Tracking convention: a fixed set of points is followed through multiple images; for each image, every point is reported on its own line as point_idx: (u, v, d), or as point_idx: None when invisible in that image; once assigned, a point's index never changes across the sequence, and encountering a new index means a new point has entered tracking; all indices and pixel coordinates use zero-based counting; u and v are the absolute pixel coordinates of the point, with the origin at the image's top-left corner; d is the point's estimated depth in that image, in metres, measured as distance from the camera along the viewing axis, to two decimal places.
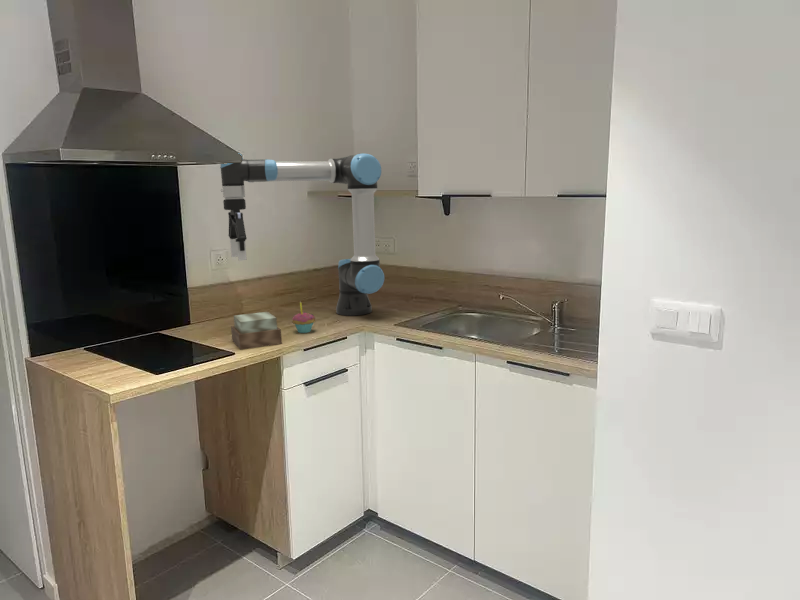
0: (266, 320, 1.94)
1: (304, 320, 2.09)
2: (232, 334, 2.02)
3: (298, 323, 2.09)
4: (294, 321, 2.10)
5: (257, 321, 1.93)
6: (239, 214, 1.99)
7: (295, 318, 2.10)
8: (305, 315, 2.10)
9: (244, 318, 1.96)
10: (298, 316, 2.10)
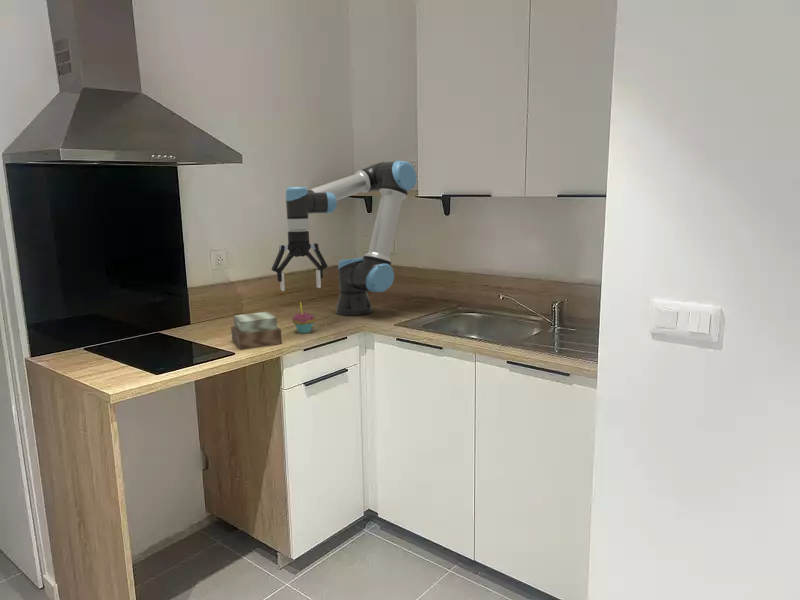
0: (266, 320, 1.94)
1: (304, 320, 2.09)
2: (232, 334, 2.02)
3: (298, 323, 2.09)
4: (294, 321, 2.10)
5: (257, 321, 1.93)
6: (280, 246, 2.05)
7: (295, 318, 2.10)
8: (305, 315, 2.10)
9: (244, 318, 1.96)
10: (298, 316, 2.10)
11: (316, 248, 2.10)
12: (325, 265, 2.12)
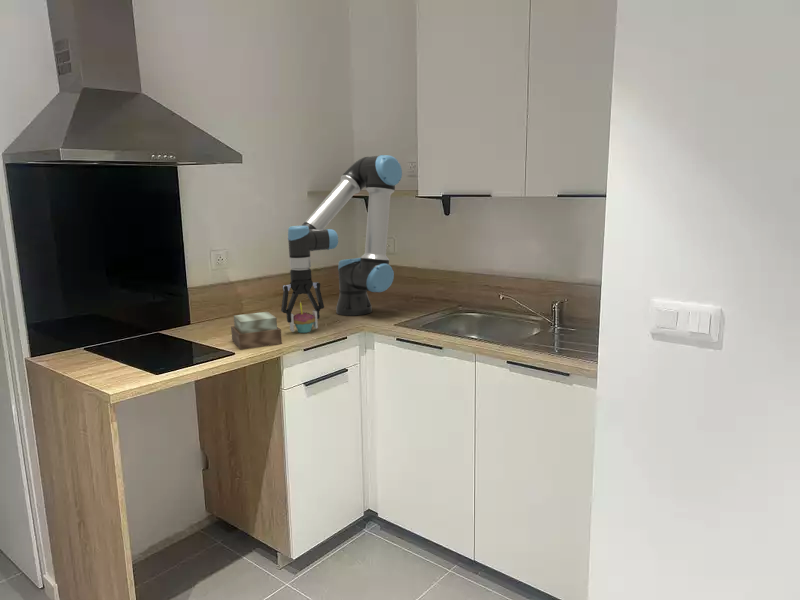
0: (266, 320, 1.94)
1: (304, 320, 2.09)
2: (232, 334, 2.02)
3: (298, 323, 2.09)
4: (294, 321, 2.10)
5: (257, 321, 1.93)
6: (283, 287, 2.08)
7: (295, 318, 2.10)
8: (305, 315, 2.10)
9: (244, 318, 1.96)
10: (298, 316, 2.10)
11: (317, 287, 2.12)
12: (322, 306, 2.14)
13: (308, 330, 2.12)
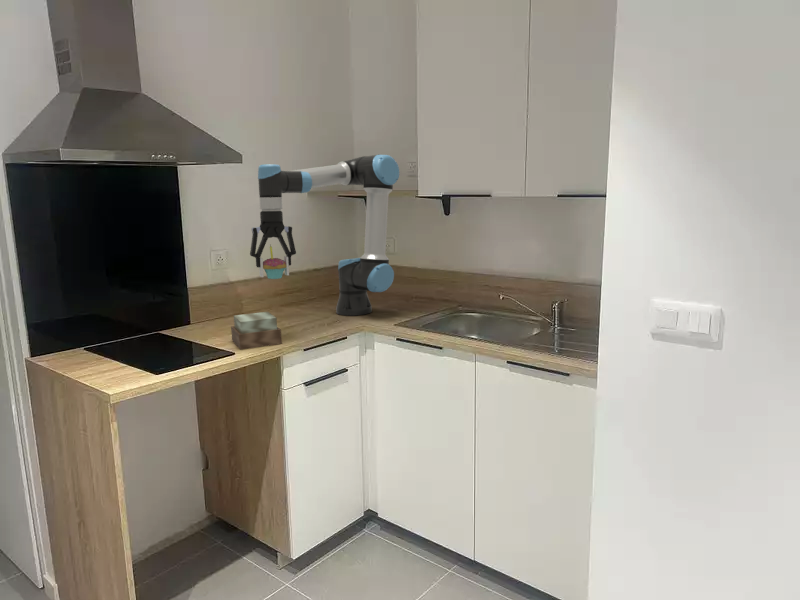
0: (266, 320, 1.94)
1: (274, 264, 1.97)
2: (232, 334, 2.02)
3: (268, 268, 1.98)
4: (263, 266, 1.99)
5: (257, 321, 1.93)
6: (252, 229, 1.96)
7: (265, 263, 1.99)
8: (275, 260, 1.99)
9: (244, 318, 1.96)
10: (268, 260, 1.99)
11: (289, 231, 2.01)
12: (294, 251, 2.03)
13: (278, 276, 2.00)
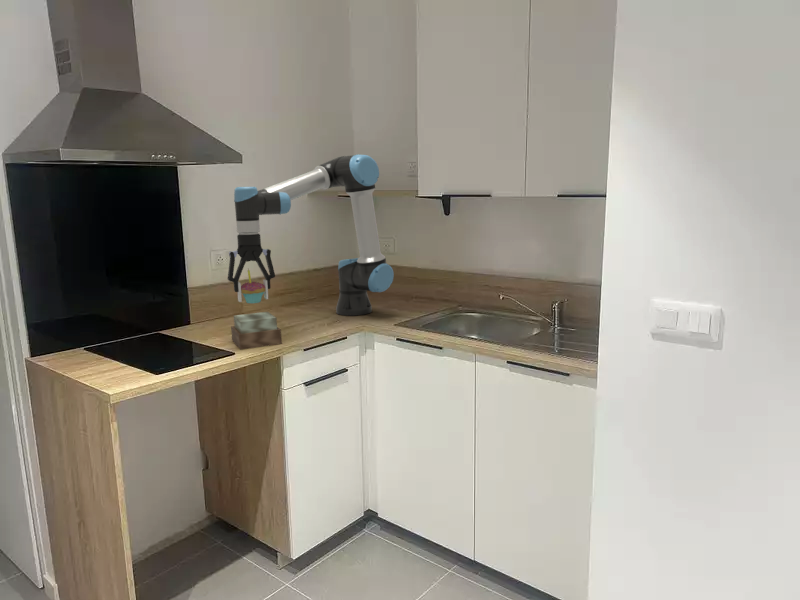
0: (266, 320, 1.94)
1: (252, 289, 1.93)
2: (232, 334, 2.02)
3: (246, 292, 1.93)
4: (241, 290, 1.94)
5: (257, 321, 1.93)
6: (229, 254, 1.91)
7: (243, 287, 1.94)
8: (254, 284, 1.94)
9: (244, 318, 1.96)
10: (246, 285, 1.94)
11: (268, 254, 1.96)
12: (273, 275, 1.98)
13: (257, 300, 1.96)
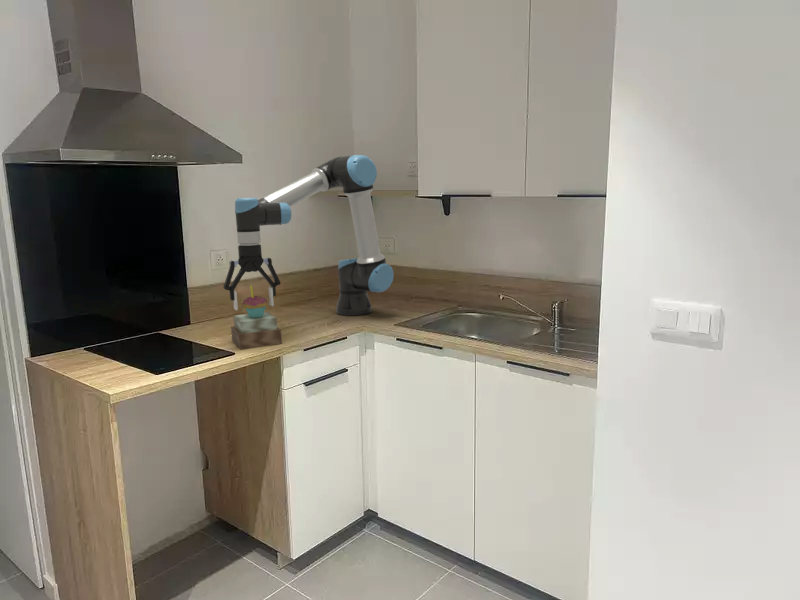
0: (266, 320, 1.94)
1: (254, 304, 1.94)
2: (232, 334, 2.02)
3: (248, 307, 1.94)
4: (244, 305, 1.95)
5: (257, 321, 1.93)
6: (230, 262, 1.92)
7: (245, 302, 1.95)
8: (256, 298, 1.95)
9: (244, 318, 1.96)
10: (248, 299, 1.95)
11: (269, 263, 1.97)
12: (278, 282, 1.99)
13: (259, 315, 1.97)
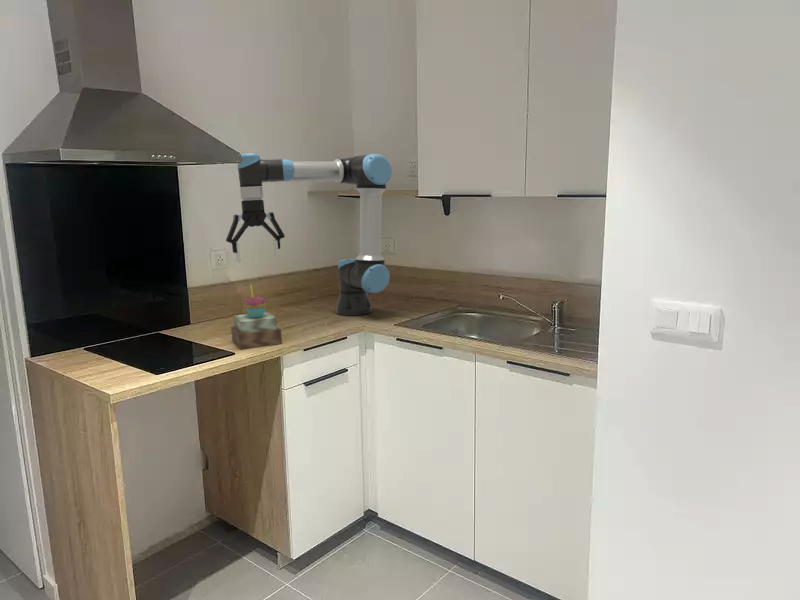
0: (266, 320, 1.94)
1: (254, 304, 1.94)
2: (232, 334, 2.02)
3: (248, 307, 1.94)
4: (244, 305, 1.95)
5: (257, 321, 1.93)
6: (234, 216, 1.98)
7: (245, 302, 1.95)
8: (256, 298, 1.95)
9: (244, 318, 1.96)
10: (248, 299, 1.95)
11: (272, 217, 2.03)
12: (282, 235, 2.06)
13: (259, 315, 1.97)
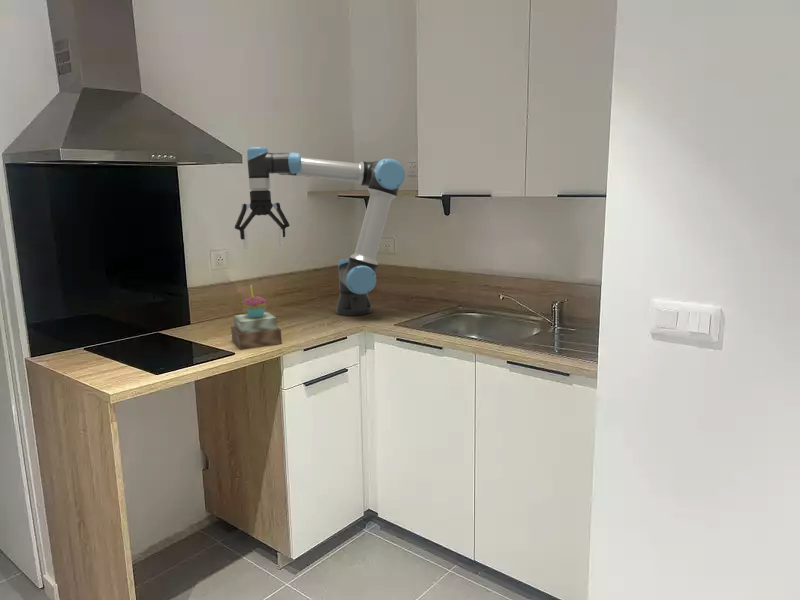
0: (266, 320, 1.94)
1: (254, 304, 1.94)
2: (232, 334, 2.02)
3: (248, 307, 1.94)
4: (244, 305, 1.95)
5: (257, 321, 1.93)
6: (242, 205, 2.12)
7: (245, 302, 1.95)
8: (256, 299, 1.95)
9: (244, 318, 1.96)
10: (248, 299, 1.95)
11: (278, 207, 2.17)
12: (287, 224, 2.20)
13: (259, 315, 1.97)
